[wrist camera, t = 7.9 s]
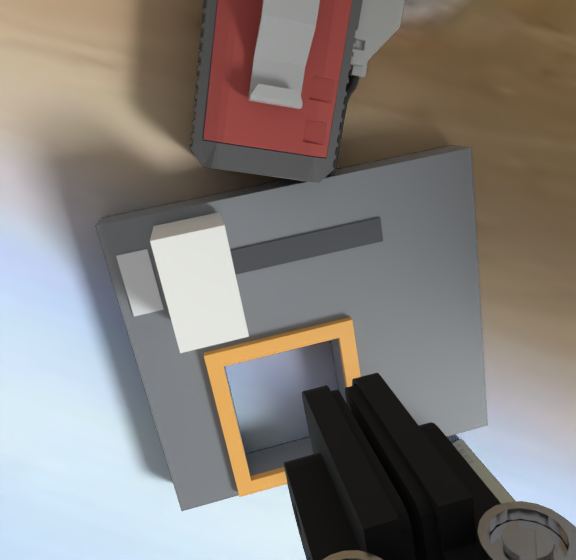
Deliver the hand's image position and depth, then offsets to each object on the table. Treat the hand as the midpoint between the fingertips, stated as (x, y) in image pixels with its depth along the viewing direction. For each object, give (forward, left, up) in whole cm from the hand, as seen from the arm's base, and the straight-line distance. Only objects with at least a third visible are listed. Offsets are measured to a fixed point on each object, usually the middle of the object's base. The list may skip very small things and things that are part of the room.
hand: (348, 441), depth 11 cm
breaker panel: (-2, +5, -17) cm, 18 cm away
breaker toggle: (+3, 0, -15) cm, 15 cm away
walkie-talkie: (-5, -12, -17) cm, 21 cm away
